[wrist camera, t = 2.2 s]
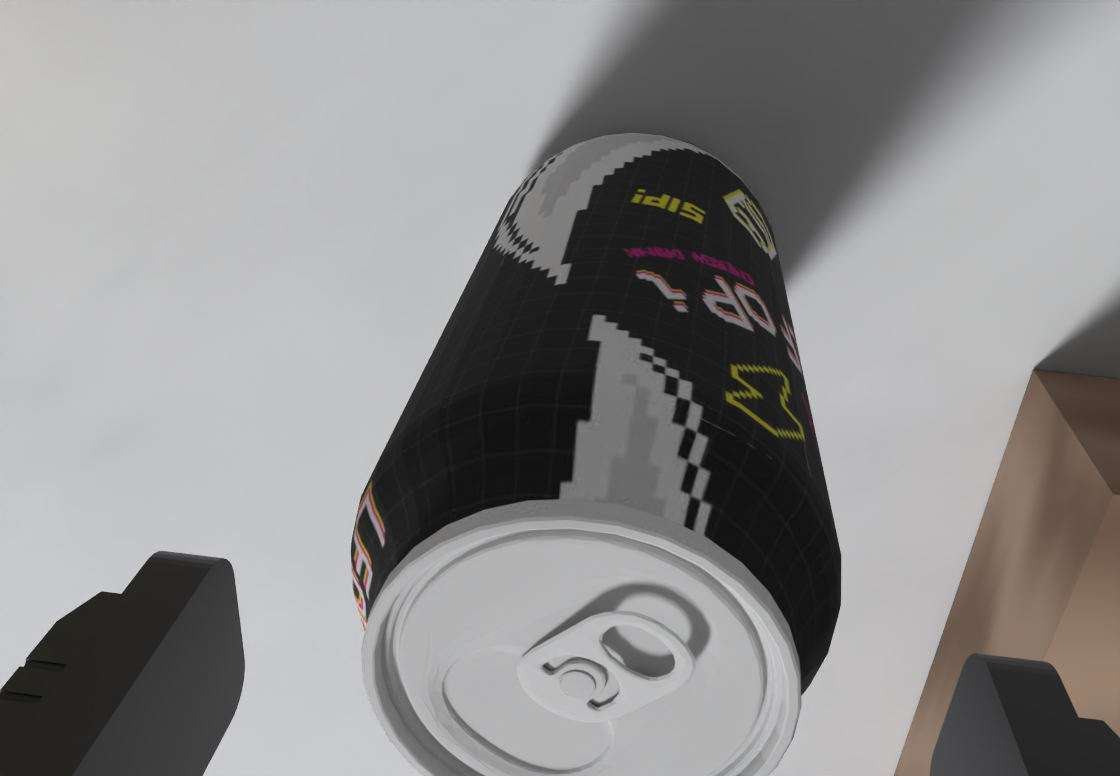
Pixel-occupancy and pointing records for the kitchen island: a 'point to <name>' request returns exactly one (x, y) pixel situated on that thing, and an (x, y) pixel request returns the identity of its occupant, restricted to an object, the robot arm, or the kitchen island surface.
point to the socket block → (1042, 559)
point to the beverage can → (604, 491)
